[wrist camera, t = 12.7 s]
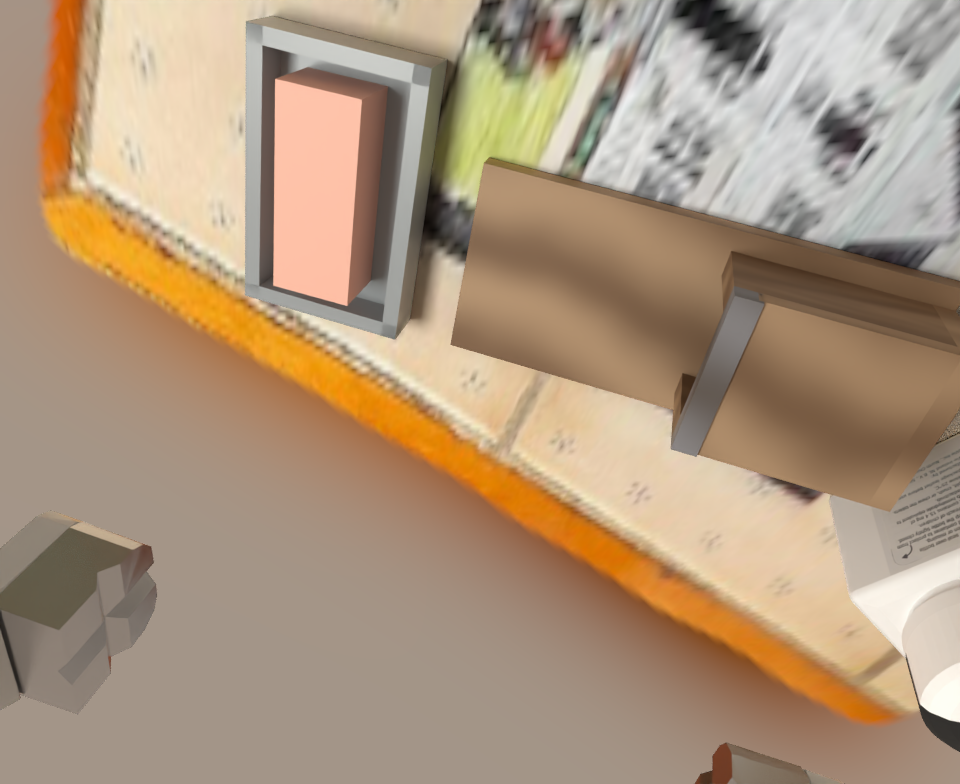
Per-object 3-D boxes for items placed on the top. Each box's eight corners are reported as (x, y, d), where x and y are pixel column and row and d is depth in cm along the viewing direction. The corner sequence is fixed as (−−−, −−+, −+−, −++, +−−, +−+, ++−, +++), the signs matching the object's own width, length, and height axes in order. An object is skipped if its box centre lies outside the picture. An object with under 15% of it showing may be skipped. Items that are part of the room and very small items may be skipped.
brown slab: (489, 157, 36) (454, 195, 31) (961, 281, 33) (1006, 344, 28) (455, 336, 41) (421, 392, 36) (857, 453, 39) (879, 530, 34)
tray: (272, 16, 35) (246, 21, 33) (447, 59, 34) (431, 68, 32) (266, 278, 42) (245, 295, 40) (409, 319, 41) (395, 339, 39)
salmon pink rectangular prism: (301, 262, 41) (273, 285, 38) (307, 67, 35) (275, 78, 32) (370, 281, 40) (347, 306, 37) (387, 86, 34) (362, 99, 32)
